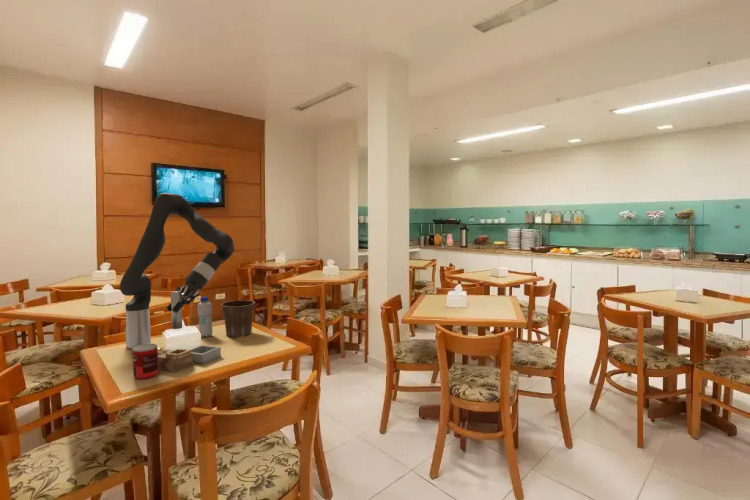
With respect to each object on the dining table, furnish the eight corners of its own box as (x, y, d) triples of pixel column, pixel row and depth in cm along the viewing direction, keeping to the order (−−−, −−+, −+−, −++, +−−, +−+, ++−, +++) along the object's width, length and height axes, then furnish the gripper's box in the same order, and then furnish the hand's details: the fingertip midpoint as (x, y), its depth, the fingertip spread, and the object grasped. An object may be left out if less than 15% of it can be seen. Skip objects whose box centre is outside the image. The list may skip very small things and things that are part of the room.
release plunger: (153, 363, 152) (152, 349, 152) (159, 360, 155) (159, 347, 155) (159, 363, 151) (158, 350, 151) (165, 361, 154) (164, 347, 154)
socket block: (145, 367, 150) (144, 351, 150) (162, 360, 158) (161, 345, 157) (177, 372, 145) (176, 355, 144) (193, 365, 152) (193, 349, 152)
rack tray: (183, 361, 157) (183, 352, 156) (202, 353, 166) (201, 344, 166) (202, 364, 153) (202, 354, 153) (220, 356, 163) (220, 347, 162)
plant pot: (262, 333, 196) (261, 302, 195) (232, 341, 184) (231, 307, 183) (245, 328, 207) (244, 298, 206) (216, 335, 195) (215, 303, 194)
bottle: (207, 338, 189) (206, 298, 188) (195, 337, 190) (193, 297, 189) (215, 334, 196) (214, 295, 194) (204, 334, 197) (202, 295, 196)
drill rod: (169, 328, 148) (168, 292, 147) (177, 326, 151) (176, 290, 150) (176, 329, 146) (175, 293, 146) (184, 327, 150) (183, 291, 149)
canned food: (140, 372, 145) (138, 343, 145) (162, 371, 146) (161, 343, 145) (129, 380, 138) (127, 350, 137) (152, 379, 138) (151, 349, 138)
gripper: (184, 268, 157) (154, 303, 148) (203, 271, 149) (173, 307, 140) (197, 280, 162) (168, 314, 153) (216, 282, 154) (188, 319, 145)
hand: (171, 310), depth 147 cm, fingers closed on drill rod, 3 cm apart
